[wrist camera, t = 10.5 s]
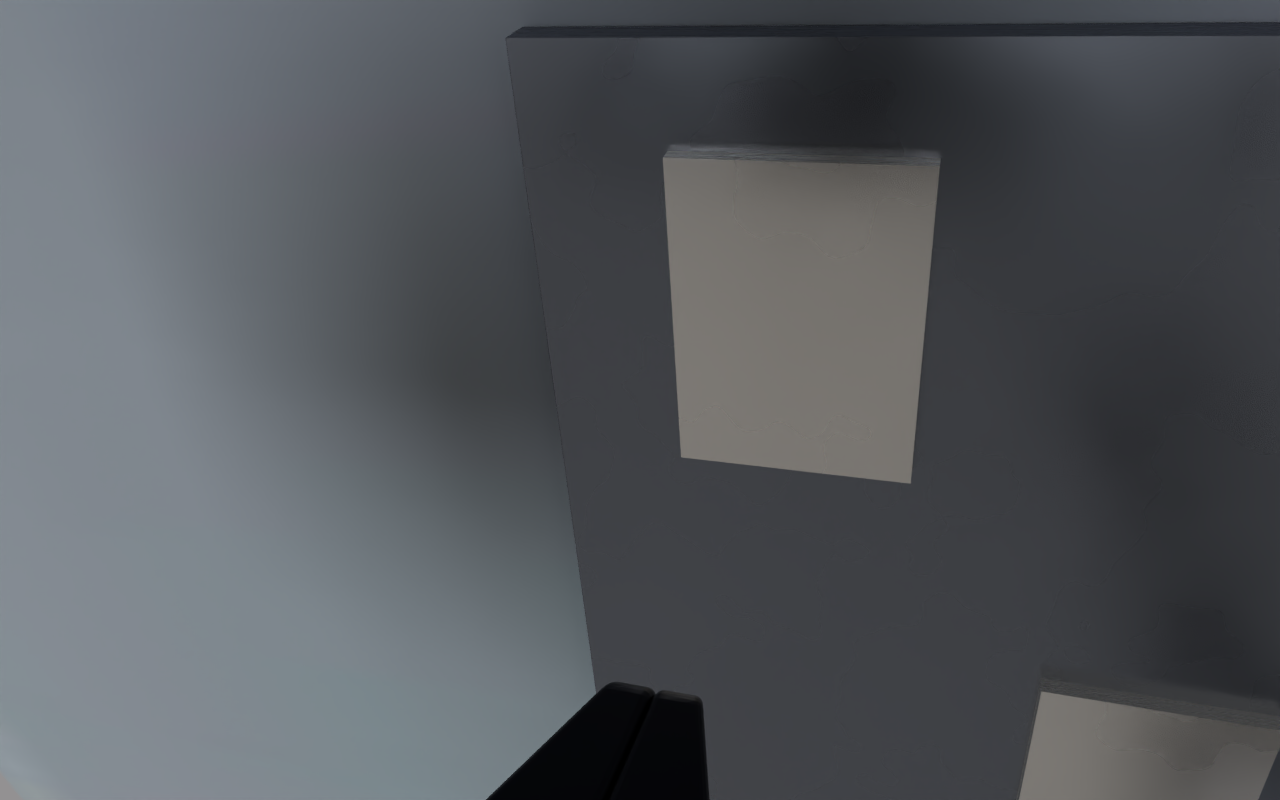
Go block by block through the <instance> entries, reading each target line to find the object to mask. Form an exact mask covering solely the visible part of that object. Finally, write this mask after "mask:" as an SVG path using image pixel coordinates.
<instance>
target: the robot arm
mask: <svg viewBox="0 0 1280 800" xmlns="http://www.w3.org/2000/svg"><path fill="white" fill-rule="evenodd" d="M486 800H710V797H709V783H708V769H707V754H706V740H705V725H704V711H703V702H702V700H701V699H700V698H699V697H698V696H695V695H689V694H684V693H678V692H673V691H667V690H661V691H659V692H657V693H656V694H655V691H654V690H653V689H651V688H649V687H645V686H639V685H634V684H628V683H623V682H612V683H609V684H607V685H605V686H604V687H603V688H602V689H601V690H600V691H599V692H598V693H597V694H596V695H594V696H593V697H592V698H591V699H590V700H589V701H588V702H587V703H586V704H585V705H584V706H583V707H582V708H581V709H580V710H579V711H578V712H577V713H576V714H575V715H574V716H573V717H572V718H571V719H569V720H568V721H567V722H566V723H565V724H564V725H563V726H562V727H561V728H560V729H559V730H558V731H557V732H556V733H555V734H554V735H553V736H552V737H551V738H550V739H549V740H548V741H547V742H546V743H544V744H543V745H542V746H541V747H540V748H539V749H538V750H537V751H536V752H535V753H534V754H533V755H532V756H531V757H530V758H529V759H528V760H527V761H526V762H525V763H524V764H523V765H522V766H521V767H520V768H518V769H517V770H516V771H515V772H514V773H513V774H512V775H511V776H510V777H509V778H508V779H507V780H506V781H505V782H504V783H503V784H502V785H501V786H500V787H499V788H498V789H497V790H496V791H495V792H493V793H492V794H491V795H490V796H489V797H488V798H487V799H486Z"/></svg>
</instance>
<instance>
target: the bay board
mask: <svg viewBox="0 0 1280 800" xmlns="http://www.w3.org/2000/svg"><path fill="white" fill-rule="evenodd" d="M506 45H507V52H508V60H509V67H510V74H511V81H512V88H513V96H514V103H515V110H516V117H517V124H518V132H519V139H520V146H521V153H522V161H523V168H524V175H525V182H526V189H527V197H528V204H529V211H530V218H531V225H532V233H533V240H534V247H535V254H536V262H537V269H538V276H539V283H540V290H541V298H542V305H543V312H544V319H545V326H546V334H547V341H548V348H549V355H550V363H551V370H552V377H553V384H554V391H555V399H556V406H557V413H558V420H559V427H560V435H561V442H562V449H563V456H564V464H565V471H566V478H567V485H568V492H569V500H570V507H571V514H572V521H573V528H574V536H575V543H576V550H577V557H578V564H579V572H580V579H581V586H582V593H583V601H584V608H585V615H586V622H587V629H588V637H589V644H590V651H591V658H592V665H593V673H594V680H595V687H596V694H597V693H598V692H599V691H600V690H601V689H602V688H603V687H604V686H605V685H607V684H609V683H612V682H623V683H628V684H634V685H639V686H645V687H649V688H651V689H653V690H654V691H655V694H656V693H657V692H659V691H661V690H667V691H673V692H678V693H684V694H689V695H695V696H698V697H699V698H700V699H701V700H702V702H703V711H704V725H705V740H706V754H707V769H708V783H709V797H710V800H1280V23H1142V24H976V25H809V26H643V27H522V28H520V29H519V30H517V31H516V32H514V33H512V34H511V35H509V36H508V37H506Z"/></svg>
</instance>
